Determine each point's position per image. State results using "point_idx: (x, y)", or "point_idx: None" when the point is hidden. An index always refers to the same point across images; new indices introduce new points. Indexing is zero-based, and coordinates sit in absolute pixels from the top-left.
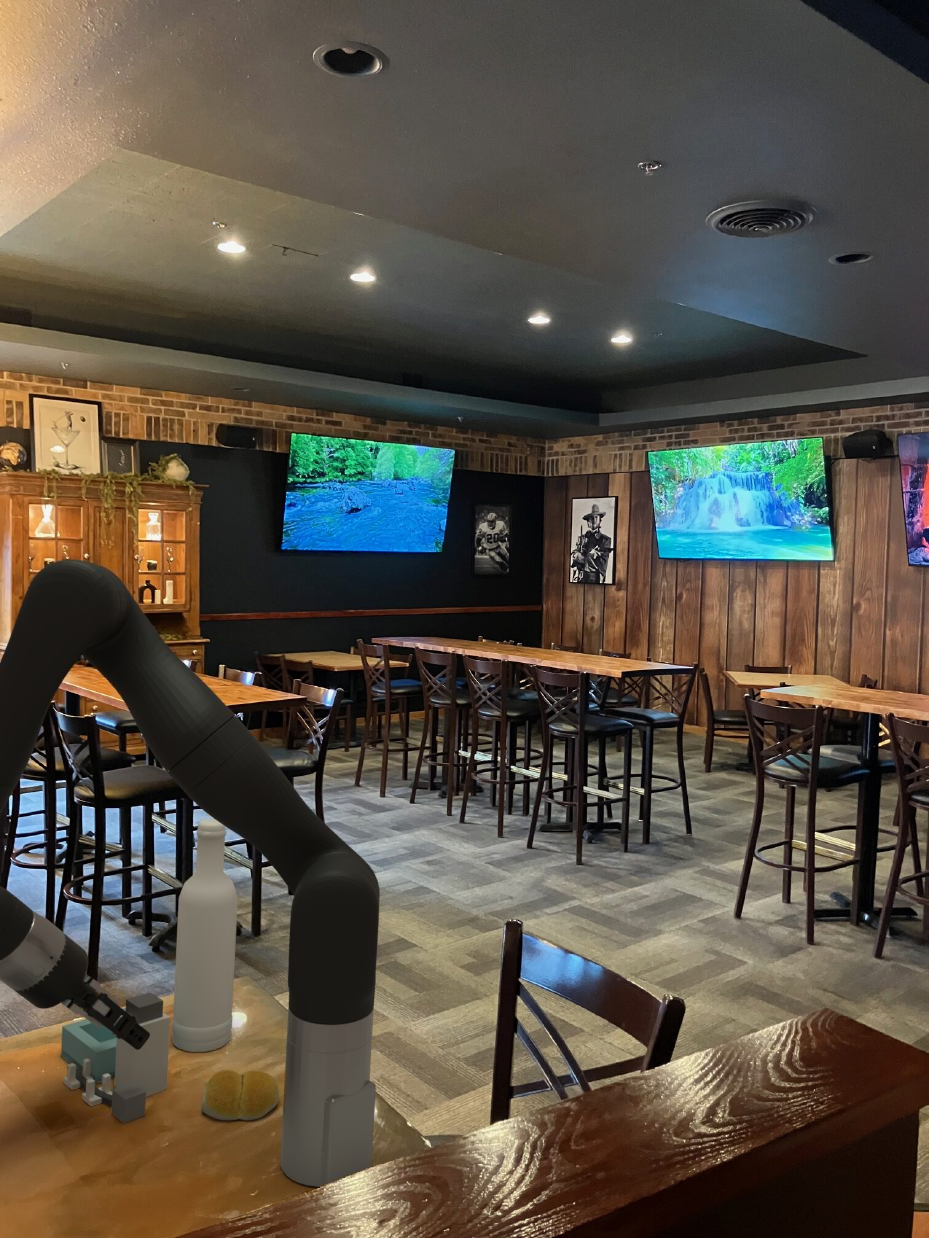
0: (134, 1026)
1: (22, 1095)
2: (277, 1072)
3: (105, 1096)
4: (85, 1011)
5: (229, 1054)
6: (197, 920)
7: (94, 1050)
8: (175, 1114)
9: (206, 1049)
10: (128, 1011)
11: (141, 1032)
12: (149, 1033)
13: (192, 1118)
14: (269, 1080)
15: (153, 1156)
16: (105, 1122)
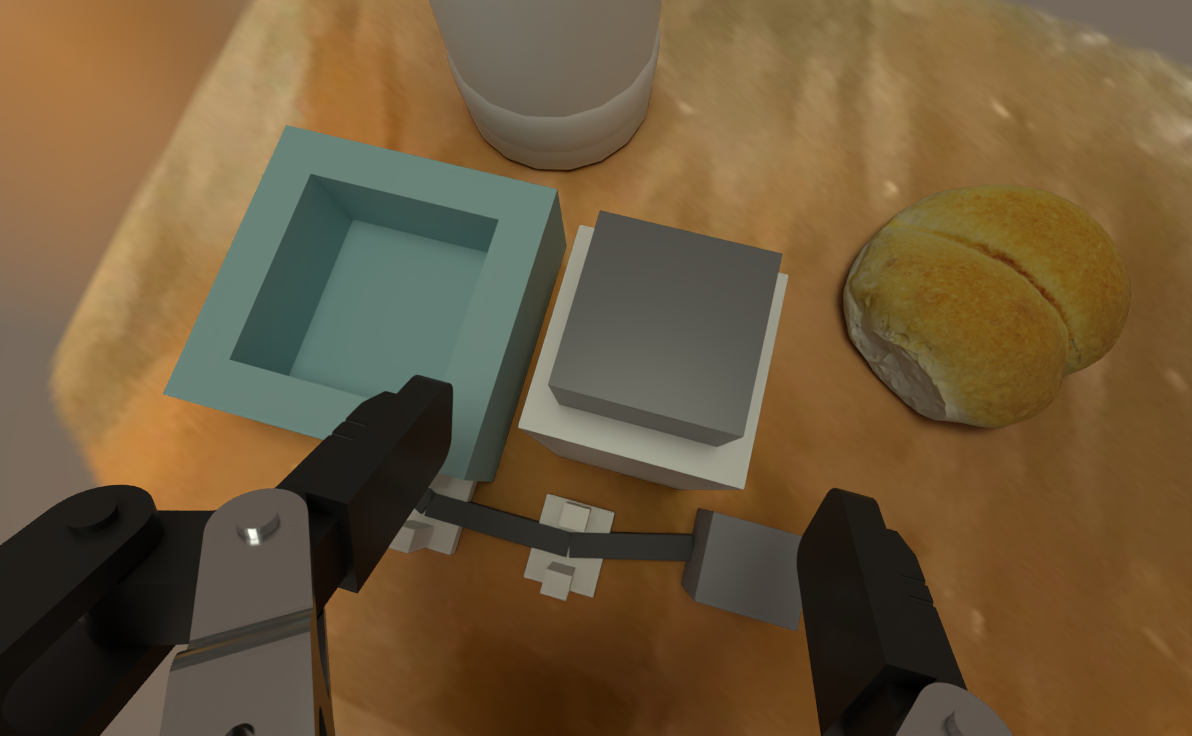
0: (961, 681)
1: (335, 679)
2: (899, 114)
3: (613, 551)
4: (361, 584)
5: (700, 112)
6: None
7: (441, 470)
8: (853, 468)
9: (631, 133)
10: (594, 409)
11: (930, 601)
12: (874, 500)
13: (915, 455)
14: (1101, 230)
15: (1008, 704)
16: (712, 639)
